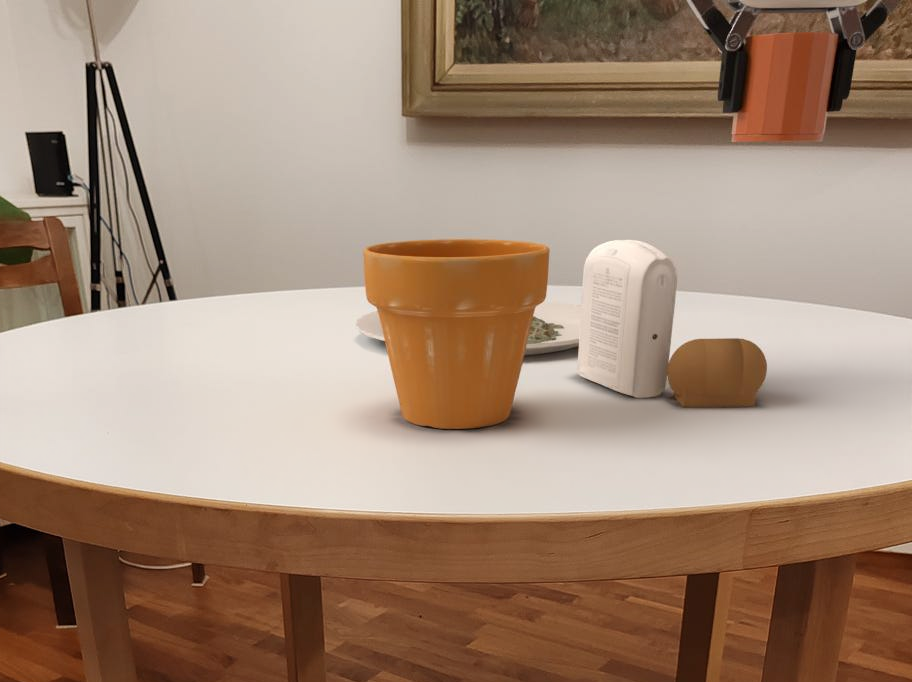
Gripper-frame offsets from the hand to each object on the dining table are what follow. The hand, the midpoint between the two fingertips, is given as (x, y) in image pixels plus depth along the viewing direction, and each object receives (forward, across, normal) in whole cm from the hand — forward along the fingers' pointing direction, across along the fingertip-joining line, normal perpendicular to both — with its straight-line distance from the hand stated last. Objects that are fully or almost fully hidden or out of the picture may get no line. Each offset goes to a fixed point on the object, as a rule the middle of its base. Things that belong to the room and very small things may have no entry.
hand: (780, 109), depth 76 cm
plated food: (+22, -22, +29) cm, 42 cm away
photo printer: (+22, -10, +4) cm, 25 cm away
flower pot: (+22, -25, -6) cm, 34 cm away
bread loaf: (+22, -3, -2) cm, 22 cm away
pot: (+2, 0, 0) cm, 2 cm away
